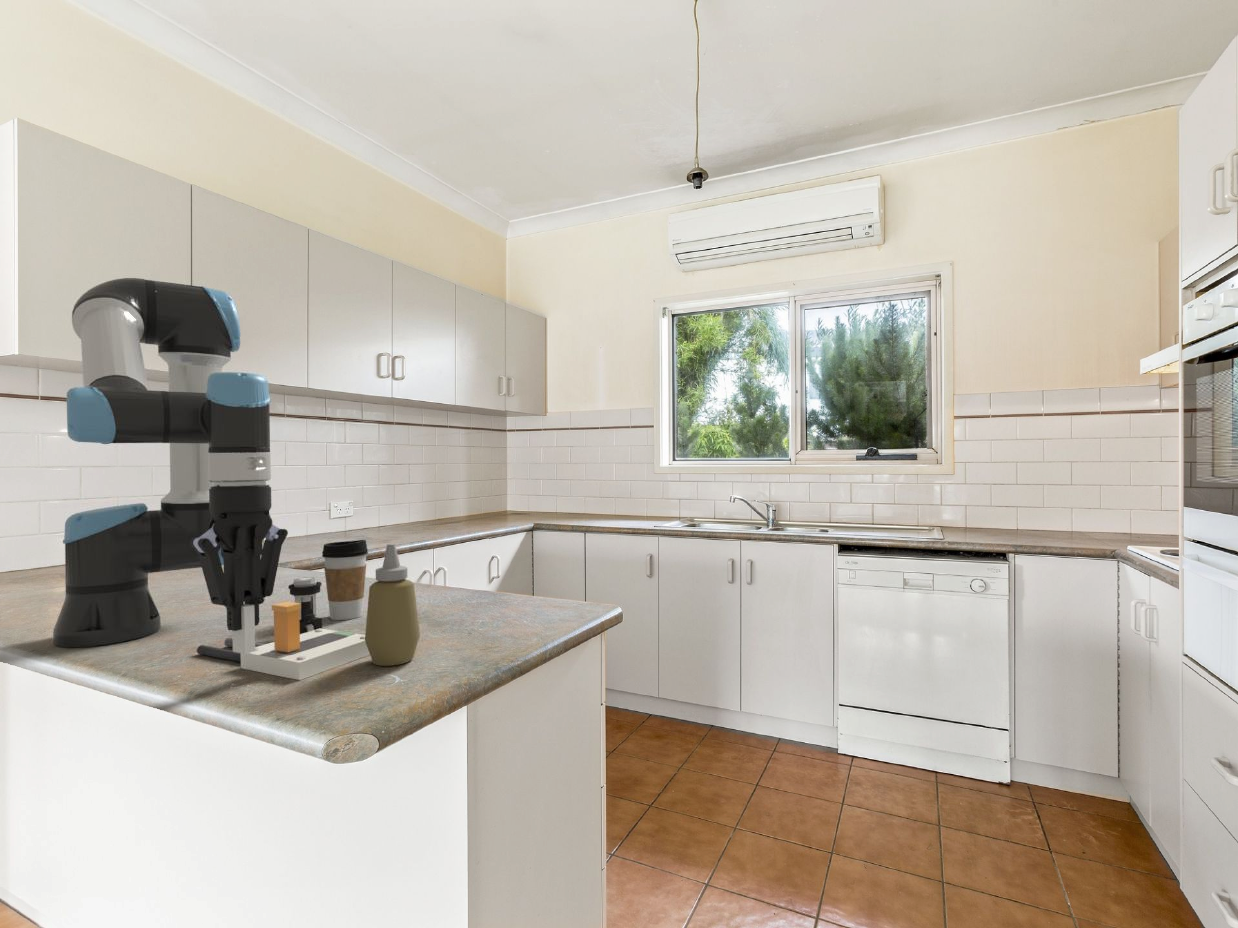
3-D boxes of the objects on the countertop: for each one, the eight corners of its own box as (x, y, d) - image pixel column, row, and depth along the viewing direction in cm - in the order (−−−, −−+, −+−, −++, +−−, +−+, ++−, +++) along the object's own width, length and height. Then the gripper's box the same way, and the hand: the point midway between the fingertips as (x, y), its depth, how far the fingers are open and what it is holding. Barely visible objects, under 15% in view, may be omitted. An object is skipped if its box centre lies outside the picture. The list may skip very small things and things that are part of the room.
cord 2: (224, 647, 107) (224, 638, 107) (232, 644, 108) (232, 636, 108) (274, 656, 101) (274, 647, 101) (282, 654, 102) (282, 645, 102)
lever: (272, 650, 95) (271, 604, 95) (286, 645, 97) (286, 601, 97) (287, 652, 94) (286, 606, 94) (302, 648, 96) (301, 603, 96)
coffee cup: (358, 621, 122) (357, 543, 122) (314, 622, 123) (313, 544, 122) (375, 611, 131) (374, 538, 131) (335, 611, 131) (333, 538, 131)
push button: (293, 642, 109) (292, 584, 109) (275, 638, 112) (274, 581, 112) (328, 632, 115) (327, 577, 115) (310, 629, 118) (309, 575, 117)
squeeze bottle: (388, 673, 93) (386, 549, 93) (353, 664, 97) (351, 546, 97) (431, 657, 100) (429, 543, 99) (397, 650, 104) (395, 540, 104)
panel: (240, 668, 96) (240, 650, 96) (320, 642, 108) (320, 627, 108) (299, 680, 90) (299, 661, 90) (376, 652, 103) (376, 635, 103)
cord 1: (196, 654, 103) (196, 646, 103) (205, 652, 104) (205, 643, 104) (247, 665, 97) (247, 656, 97) (256, 662, 98) (256, 653, 98)
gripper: (210, 486, 82) (213, 668, 82) (299, 482, 94) (303, 641, 94) (175, 485, 85) (179, 661, 85) (266, 481, 97) (269, 636, 97)
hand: (244, 651), depth 90 cm, fingers closed
